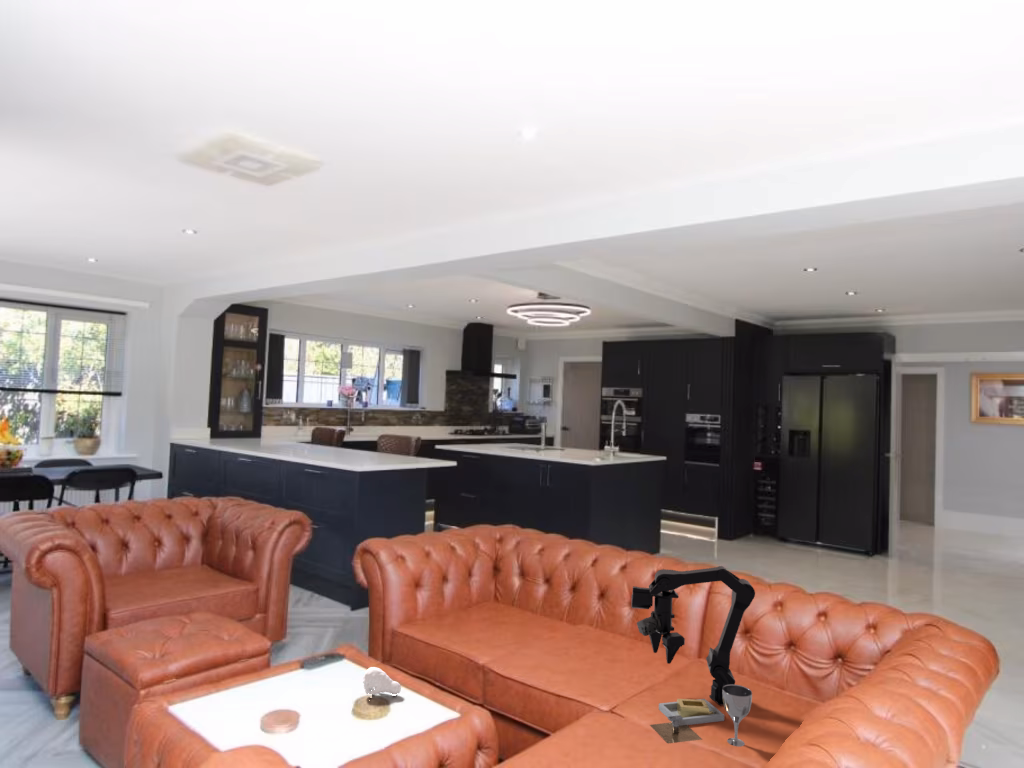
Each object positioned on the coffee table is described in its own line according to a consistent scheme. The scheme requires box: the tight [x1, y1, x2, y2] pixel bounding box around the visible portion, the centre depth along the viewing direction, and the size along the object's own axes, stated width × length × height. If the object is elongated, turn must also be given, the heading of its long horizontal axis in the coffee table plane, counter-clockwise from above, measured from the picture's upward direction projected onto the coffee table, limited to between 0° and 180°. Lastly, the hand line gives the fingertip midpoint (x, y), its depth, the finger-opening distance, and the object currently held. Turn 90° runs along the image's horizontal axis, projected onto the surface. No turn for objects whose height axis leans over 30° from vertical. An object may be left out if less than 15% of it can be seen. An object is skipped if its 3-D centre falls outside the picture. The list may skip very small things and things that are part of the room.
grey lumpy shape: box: [362, 666, 402, 695], centre depth 219 cm, size 6×8×12 cm
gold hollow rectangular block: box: [676, 698, 714, 718], centre depth 211 cm, size 10×6×3 cm, turn 87°
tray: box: [658, 698, 725, 726], centre depth 211 cm, size 16×11×2 cm
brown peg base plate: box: [649, 715, 703, 745], centre depth 200 cm, size 11×11×5 cm
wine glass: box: [722, 684, 753, 748], centre depth 195 cm, size 8×8×15 cm
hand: (661, 657), depth 225 cm, fingers open, 9 cm apart
